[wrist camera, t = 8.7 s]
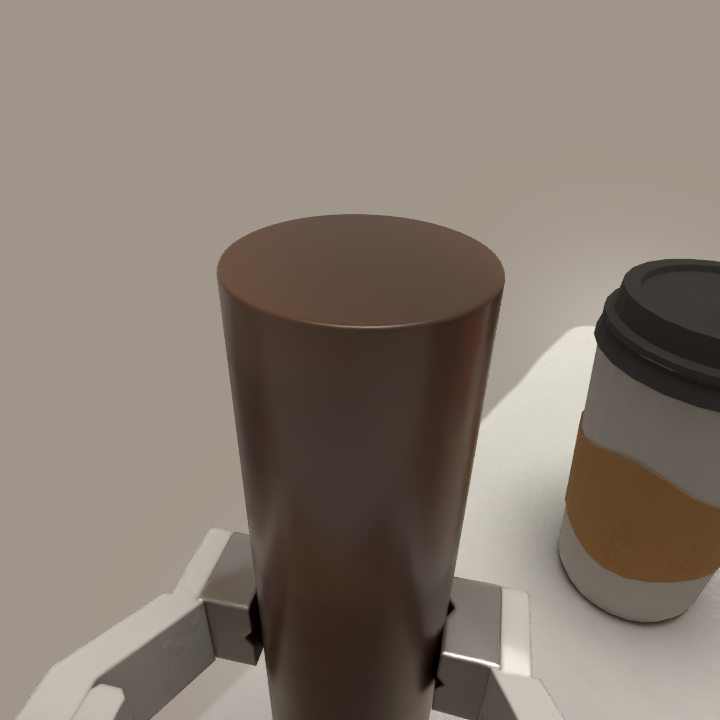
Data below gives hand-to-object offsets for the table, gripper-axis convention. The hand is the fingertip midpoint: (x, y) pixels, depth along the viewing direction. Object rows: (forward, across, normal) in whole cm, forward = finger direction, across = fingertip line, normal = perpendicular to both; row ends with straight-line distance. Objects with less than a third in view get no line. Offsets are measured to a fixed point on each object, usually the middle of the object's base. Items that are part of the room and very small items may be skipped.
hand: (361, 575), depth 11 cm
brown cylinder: (-1, 0, +9) cm, 9 cm away
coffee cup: (+14, -11, +14) cm, 22 cm away
